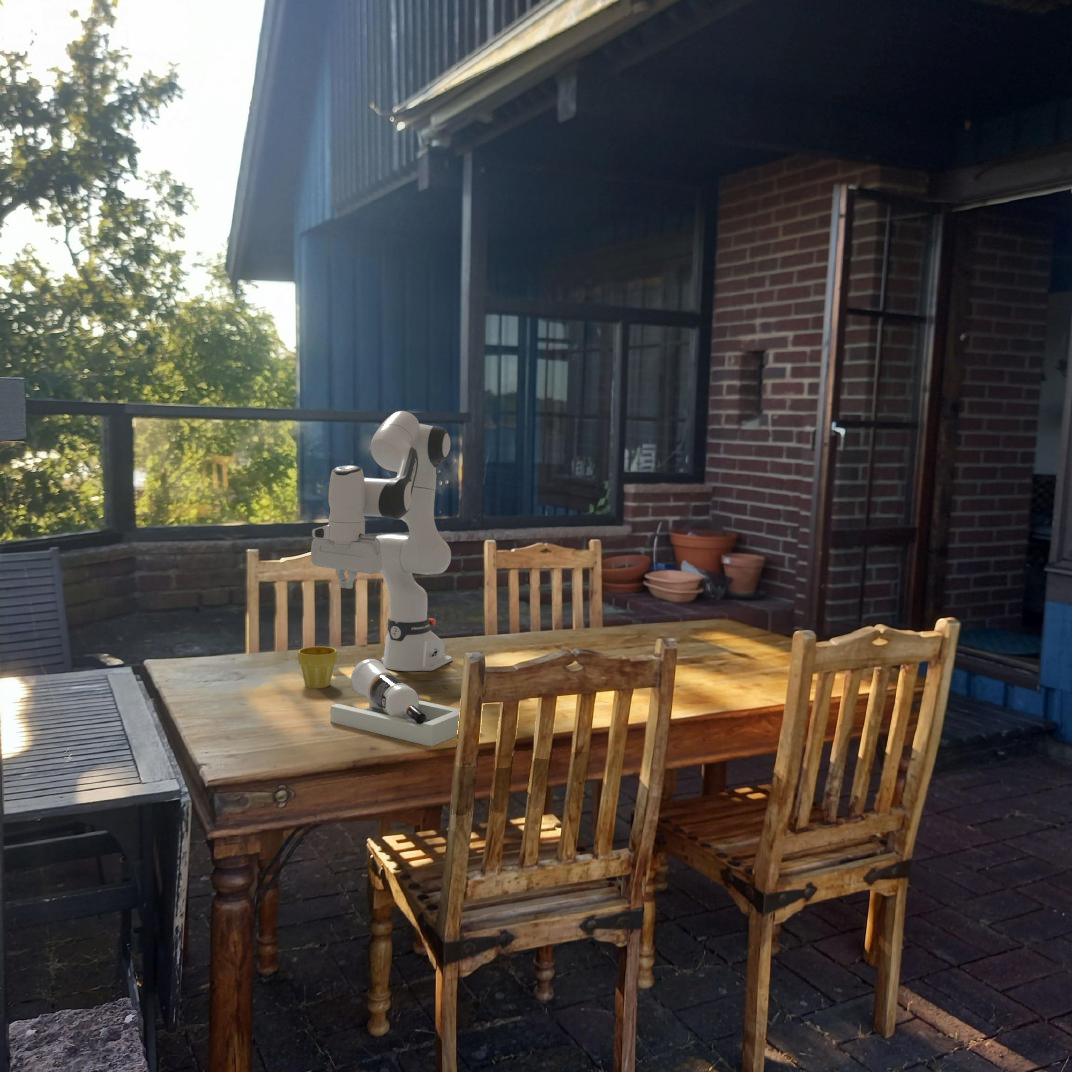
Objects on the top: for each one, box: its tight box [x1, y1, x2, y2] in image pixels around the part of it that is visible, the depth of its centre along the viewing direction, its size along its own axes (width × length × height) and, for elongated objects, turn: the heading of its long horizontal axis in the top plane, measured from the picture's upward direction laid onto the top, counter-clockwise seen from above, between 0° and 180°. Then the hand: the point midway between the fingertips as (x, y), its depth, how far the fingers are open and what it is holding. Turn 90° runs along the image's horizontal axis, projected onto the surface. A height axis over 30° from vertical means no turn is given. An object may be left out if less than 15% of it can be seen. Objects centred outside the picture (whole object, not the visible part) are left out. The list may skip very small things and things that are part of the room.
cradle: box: [329, 698, 461, 747], centre depth 251 cm, size 17×30×5 cm, turn 59°
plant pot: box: [297, 645, 338, 689], centre depth 284 cm, size 10×10×10 cm
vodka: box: [350, 658, 426, 724], centre depth 252 cm, size 9×9×30 cm
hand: (346, 587), depth 257 cm, fingers closed
